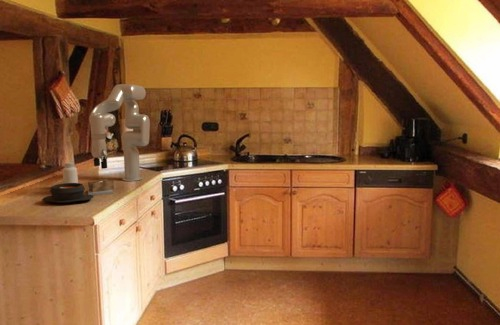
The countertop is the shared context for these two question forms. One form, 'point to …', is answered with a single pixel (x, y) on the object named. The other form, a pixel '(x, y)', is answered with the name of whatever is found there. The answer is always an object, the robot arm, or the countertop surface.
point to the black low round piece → (67, 193)
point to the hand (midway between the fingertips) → (100, 167)
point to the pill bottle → (70, 173)
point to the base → (100, 192)
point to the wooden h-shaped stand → (101, 185)
